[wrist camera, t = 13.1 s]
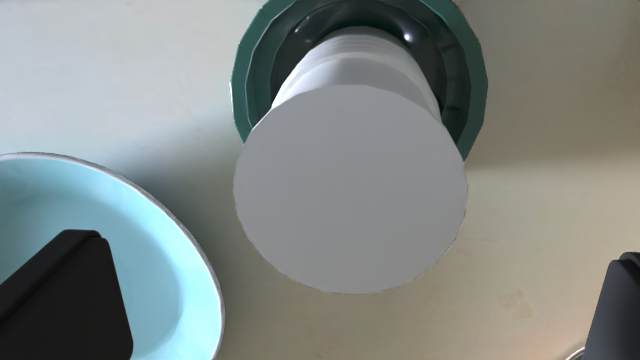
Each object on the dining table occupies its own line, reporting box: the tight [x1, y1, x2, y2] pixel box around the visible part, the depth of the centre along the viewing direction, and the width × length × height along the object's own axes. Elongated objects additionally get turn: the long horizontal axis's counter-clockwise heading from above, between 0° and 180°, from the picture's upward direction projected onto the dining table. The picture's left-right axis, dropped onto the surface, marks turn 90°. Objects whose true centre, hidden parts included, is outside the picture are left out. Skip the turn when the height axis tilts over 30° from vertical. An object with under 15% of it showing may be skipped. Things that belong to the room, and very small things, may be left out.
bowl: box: [230, 0, 488, 162], centre depth 26 cm, size 13×13×5 cm
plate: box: [0, 152, 225, 360], centre depth 35 cm, size 22×22×3 cm
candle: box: [233, 26, 468, 294], centre depth 20 cm, size 7×7×15 cm
